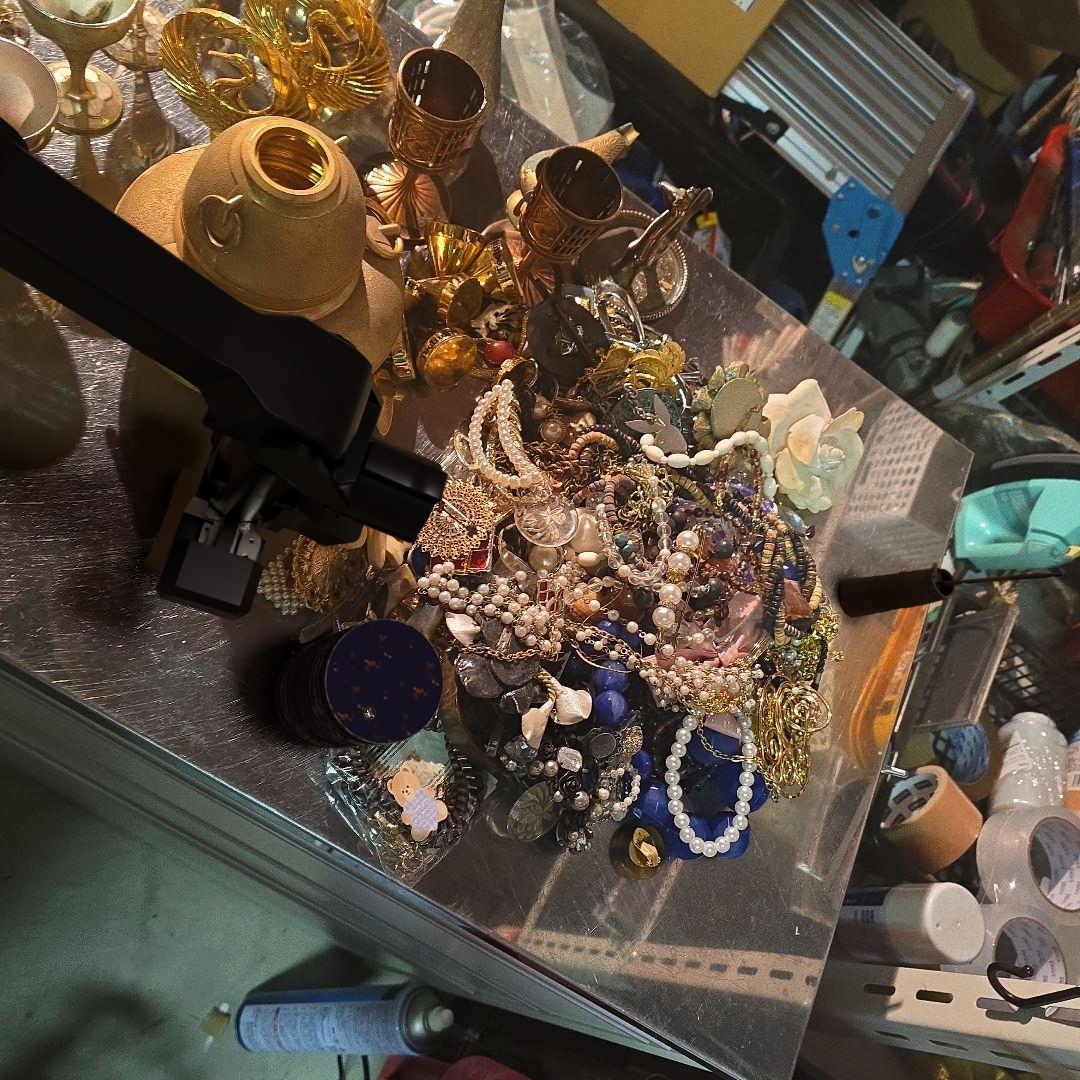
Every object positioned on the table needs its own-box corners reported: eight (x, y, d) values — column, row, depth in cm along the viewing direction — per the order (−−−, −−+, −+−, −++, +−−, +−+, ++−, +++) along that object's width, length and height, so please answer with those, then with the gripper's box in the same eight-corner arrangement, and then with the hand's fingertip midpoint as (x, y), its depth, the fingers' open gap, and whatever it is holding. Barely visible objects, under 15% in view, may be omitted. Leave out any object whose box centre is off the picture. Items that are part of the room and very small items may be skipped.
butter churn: (810, 575, 116) (1013, 527, 93) (852, 548, 121) (1054, 495, 98) (840, 639, 116) (1049, 607, 93) (880, 609, 122) (1088, 571, 98)
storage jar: (308, 620, 82) (361, 593, 69) (397, 671, 85) (464, 654, 73) (253, 718, 78) (299, 709, 65) (349, 768, 81) (411, 768, 68)
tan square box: (143, 567, 76) (150, 556, 72) (174, 483, 79) (183, 467, 75) (224, 593, 79) (236, 583, 75) (252, 511, 82) (265, 497, 77)
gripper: (345, 629, 58) (282, 654, 71) (414, 382, 64) (345, 447, 78) (170, 573, 53) (137, 611, 66) (264, 314, 60) (218, 395, 73)
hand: (219, 512), depth 71 cm, fingers closed on planter, 4 cm apart
